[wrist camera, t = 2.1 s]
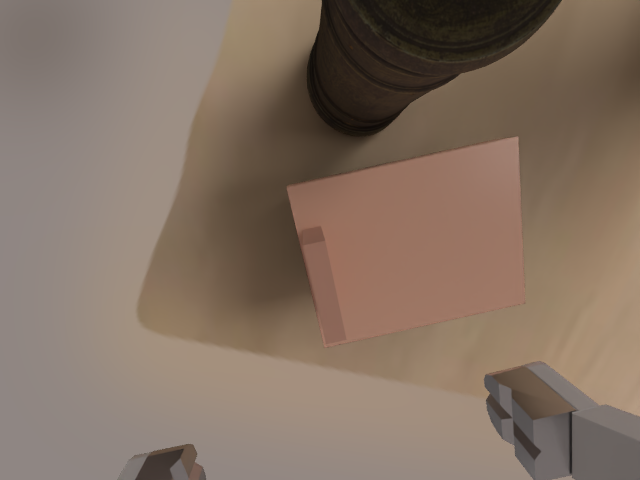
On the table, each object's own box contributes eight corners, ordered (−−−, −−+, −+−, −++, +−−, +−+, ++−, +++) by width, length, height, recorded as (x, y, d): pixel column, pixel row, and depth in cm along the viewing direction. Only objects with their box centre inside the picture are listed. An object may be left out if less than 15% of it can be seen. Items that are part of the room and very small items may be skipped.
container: (375, 153, 28) (502, 130, 10) (288, 103, 26) (260, -24, 9) (427, 58, 26) (685, -166, 8) (337, 0, 24) (423, -417, 7)
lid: (493, 139, 21) (574, 128, 15) (502, 289, 24) (574, 333, 18) (288, 184, 21) (282, 192, 15) (322, 329, 24) (329, 387, 18)
